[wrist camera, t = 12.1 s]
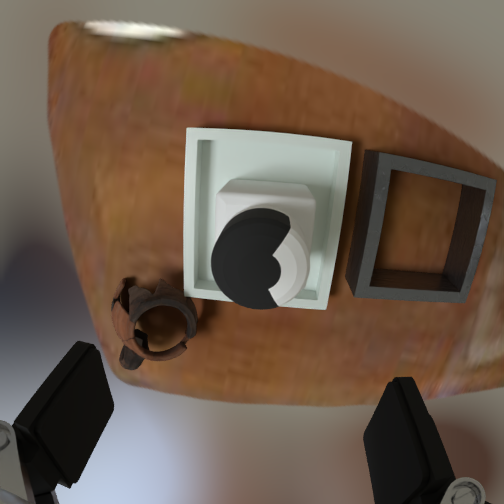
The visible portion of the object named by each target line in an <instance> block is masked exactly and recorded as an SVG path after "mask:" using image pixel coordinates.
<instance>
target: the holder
mask: <svg viewBox="0 0 504 504" xmlns="http://www.w3.org/2000/svg"><path fill="white" fill-rule="evenodd" d="M391 169H394V170H399V171H404V172H410V173H415V174H420V175H424V176H429V177H434V178H438V179H443V180H447V181H452V182H456V183H460V184H463V185H462V191H461V197H460V202H459V208H458V213H457V218H456V222H455V227H454V231H453V235H452V240H451V244H450V248H449V252H448V255H447V259H446V263H445V266H444V270H443V273H442V274H433V273H422V272H410V271H399V270H388V269H376V268H374V263H375V259H376V254H377V249H378V244H379V239H380V234H381V229H382V224H383V218H384V212H385V206H386V200H387V194H388V188H389V181H390V174H391ZM496 181H497V180H494V179H491V178H487V177H484V176H481V175H477V174H474V173H470V172H466V171H463V170H459V169H455V168H451V167H447V166H443V165H439V164H435V163H430V162H426V161H421V160H417V159H412V158H407V157H402V156H397V155H392V154H387V153H382V152H376V151H370V150H365V153H364V161H363V169H362V177H361V185H360V192H359V199H358V206H357V212H356V218H355V225H354V231H353V236H352V242H351V248H350V253H349V258H348V264H347V269H346V274H345V278H346V280H347V282H348V284H349V287H350V289H351V291H352V293H353V296H354V297H358V298H373V299H390V300H408V301H428V302H451V303H465V302H466V299H467V296H468V293H469V290H470V287H471V284H472V281H473V278H474V275H475V272H476V268H477V265H478V262H479V258H480V255H481V251H482V247H483V243H484V240H485V236H486V231H487V227H488V223H489V218H490V214H491V209H492V204H493V199H494V193H495V187H496Z"/></svg>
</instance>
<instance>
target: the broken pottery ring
mask: <svg viewBox="0 0 504 504" xmlns="http://www.w3.org/2000/svg"><path fill="white" fill-rule="evenodd" d="M125 282H126V279H125V278H123V279H122V281H121V282H120V284H119V286H118V287H117V290H116V292H115V294H114V298H113V302H112V310H111V311H112V321H113V324H114V327H115V331H116V333H117V335H118V337H119V338H120V339H122V342H123V343H124V346H123V348H122V351H121V354H120V358H119V361H120V364H121V366H122V367H123V368H124V369H129V370H135V369H137V368H138V367H139V366H140V365H141V363H142V362H143V360H144V359H148V360H151V361H165V360H170V359H172V358H175V357H177V356H179V355H180V354H182V353H183V352H184V351H185V350H186V349H187V347H186V345H185V344H186V343H187V341H188V340H189V339H191V338H192V337H194V336H195V335H196V323H197V320H198V318H197V311H196V308H195V305H194V303H193V302H192V300H191V298H190V297H187V296H184V292H183V291H181V290H178V289H176V288H173V287H172V286H170V285H169V284H167V283H166V282H165V281H164V280H162V279H159V284H158V286H157V288H156V290H155V292H154V294H152V293H151V292H150V291H149V290H147V289H145V288H139V287H138V286H133V287H131V288H129V290H128V292H129V295H130V297H129V305H130V306H129V313H128V312H127V311H126V310H125V309H124V307H123V305H122V304H121V303H120V293H121V291H122V289H123V288H124V287H125ZM159 305H166V306H172V307H175V308H177V309H179V310H180V311H181V312H182V313H183V314H184V315H185V317H186V319H187V325H188V326H187V328H186V332H185V334H186V335H185V337H184V338H183V340H182V341H181V342H180V343H178V344H177V345H176V346H174V347H173V348H171V349H168V350H165V351H160V352H153V351H149V347H148V339H147V338H148V335H147V334H146V333H144V332H142V331H140V330H139V329H135V325H136V321H137V320H138V318H139V317H140V316H141V315H142V314H143V313H144V312H145V311H147V310H149V309H150V308H153V307H156V306H159Z"/></svg>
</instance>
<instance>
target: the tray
mask: <svg viewBox="0 0 504 504" xmlns="http://www.w3.org/2000/svg"><path fill="white" fill-rule="evenodd" d="M351 148H352V142H350V141H343V140H337V139H330V138H322V137H314V136H306V135H297V134H287V133H277V132H265V131H252V130H236V129H215V128H187V135H186V155H185V182H184V296H187V297H196V298H204V299H213V300H222V301H231V302H233V301H232V300H230V299H229V298H228V297H227V296H225V295H224V294H223V292H222V291H221V290H220V289H219V287H218V286H217V284H216V282H215V280H214V278H213V275H212V270H211V255H212V251H213V248H214V245H215V206H216V194H217V193H218V192H219V191H220V190H221V189H222V187H223V186H224V185H225V184H226V183H227V182H228V181H230V180H231V179H239V180H256V181H270V182H283V183H295V184H304V185H306V186H307V187H308V189H309V190H310V192H311V194H312V195H313V197H314V198H315V200H316V211H315V220H314V229H313V237H312V245H311V253H310V272H309V277H308V279H307V283H306V287H305V288H304V289H302V290H301V292H300V293H299V294H298V295H297V296H296V297H295V298H293V299H292V300H291V301H289V302H288V303H286V304H284V305H282V306H283V307H295V308H308V309H322V310H326V307H327V302H328V297H329V292H330V287H331V282H332V277H333V271H334V266H335V260H336V255H337V249H338V243H339V237H340V231H341V224H342V218H343V211H344V204H345V197H346V190H347V182H348V174H349V166H350V157H351Z"/></svg>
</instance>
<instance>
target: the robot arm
mask: <svg viewBox="0 0 504 504" xmlns="http://www.w3.org/2000/svg"><path fill="white" fill-rule="evenodd" d="M113 410H114V402H113V398H112V395H111V392H110V388H109V385H108V381H107V378H106V374H105V371H104V367H103V363H102V359H101V355H100V352H99V350H97V349H96V347H95V346H94V344H90V343H85V342H82V341H77V342H76V343H75V344H74V345H73V347H72V348H71V349H70V350H69V351H68V353H67V354H66V355H65V356H64V357H63V359H62V360H61V361H60V363H59V364H58V365H57V366H56V367H55V368H54V370H53V371H52V372H51V373H50V375H49V376H48V377H47V379H46V380H45V381H44V382H43V384H42V385H41V386H40V387H39V389H38V390H37V391H36V393H35V394H34V395H33V397H32V398H31V399H30V401H29V402H28V403H27V404H26V406H25V407H24V408H23V410H22V411H21V413H20V414H19V415H18V417H17V418H16V419H15V421H14V424H13V425H12V426H11V425H10V424H9V423H7V422H5V421H2V420H0V504H59V502H58V499H57V495H56V493H55V488H56V486H57V484H61V485H63V486H65V487H67V488H69V489H70V488H71V486H72V484H73V483H76V482H78V480H79V478H80V476H81V474H82V472H83V470H84V468H85V466H86V464H87V462H88V460H89V458H90V456H91V454H92V452H93V450H94V448H95V446H96V444H97V442H98V440H99V438H100V436H101V434H102V432H103V430H104V428H105V427H106V424H107V423H108V420H109V419H110V417H111V415H112V413H113ZM363 440H364V446H365V451H366V456H367V462H368V466H369V472H370V477H371V483H372V489H373V495H374V501H375V504H491V503H489V502H486V501H485V498H486V497H485V491H484V489H483V487H482V485H481V484H480V483H479V482H478V481H476V480H474V479H472V478H468V477H464V478H459V479H456V478H455V476H454V473H453V470H452V467H451V464H450V462H449V459H448V456H447V454H446V451H445V448H444V446H443V443H442V441H441V438H440V436H439V433H438V431H437V428H436V426H435V423H434V421H433V419H432V417H431V415H429V413H428V411H427V408H426V406H425V404H424V401H423V399H422V397H421V394H420V392H419V390H418V388H417V385H416V383H415V381H414V379H413V378H412V377H395V378H394V379H393V381H392V382H389V383H388V384H387V386H386V388H385V391H384V393H383V395H382V397H381V399H380V401H379V404H378V406H377V408H376V410H375V412H374V414H373V416H372V418H371V420H370V422H369V424H368V426H367V428H366V430H365V432H364V437H363Z"/></svg>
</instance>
